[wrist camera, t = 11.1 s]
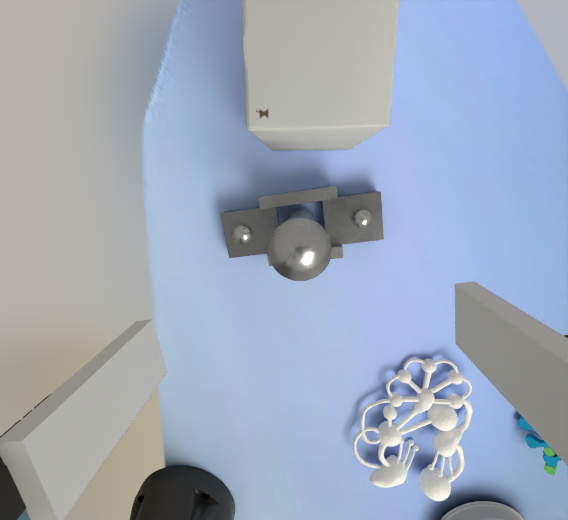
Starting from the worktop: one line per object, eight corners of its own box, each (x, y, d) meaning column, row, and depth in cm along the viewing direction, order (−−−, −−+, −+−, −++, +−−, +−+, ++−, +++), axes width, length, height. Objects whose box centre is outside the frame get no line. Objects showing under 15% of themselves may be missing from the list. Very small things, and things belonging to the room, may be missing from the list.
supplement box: (354, 150, 33) (392, 132, 18) (270, 151, 33) (243, 133, 19) (359, 53, 30) (408, -58, 16) (268, 55, 31) (236, -49, 16)
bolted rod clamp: (235, 263, 37) (229, 270, 34) (223, 201, 35) (215, 203, 32) (379, 246, 35) (386, 252, 32) (375, 179, 33) (382, 180, 30)
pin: (284, 245, 36) (273, 284, 23) (279, 205, 35) (263, 223, 22) (324, 240, 35) (334, 277, 23) (319, 200, 34) (328, 215, 21)
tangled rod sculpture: (375, 339, 40) (380, 355, 36) (492, 364, 38) (510, 384, 34) (344, 458, 45) (345, 485, 41) (447, 485, 43) (458, 515, 39)
